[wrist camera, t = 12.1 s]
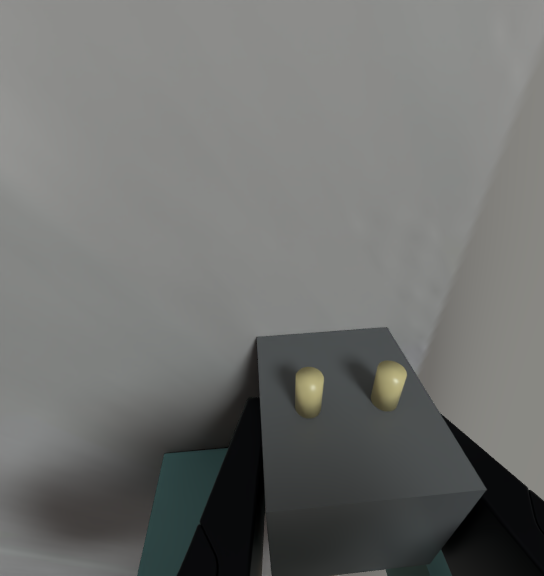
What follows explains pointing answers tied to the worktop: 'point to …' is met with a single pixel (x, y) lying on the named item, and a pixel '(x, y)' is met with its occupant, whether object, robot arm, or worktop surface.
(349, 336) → the plug
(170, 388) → the worktop surface
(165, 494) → the housing
